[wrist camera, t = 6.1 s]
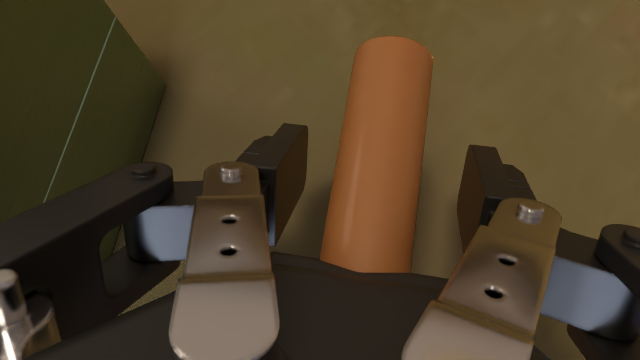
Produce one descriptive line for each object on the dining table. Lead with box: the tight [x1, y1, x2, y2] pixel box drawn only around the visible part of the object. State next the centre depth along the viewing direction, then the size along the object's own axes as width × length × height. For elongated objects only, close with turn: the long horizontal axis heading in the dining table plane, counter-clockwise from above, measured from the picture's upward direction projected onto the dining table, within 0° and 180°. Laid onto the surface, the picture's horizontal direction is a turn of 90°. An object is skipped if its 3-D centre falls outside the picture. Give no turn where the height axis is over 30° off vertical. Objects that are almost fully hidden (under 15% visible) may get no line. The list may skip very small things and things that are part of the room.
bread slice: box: [319, 36, 433, 273], centre depth 15 cm, size 8×2×10 cm, turn 170°
